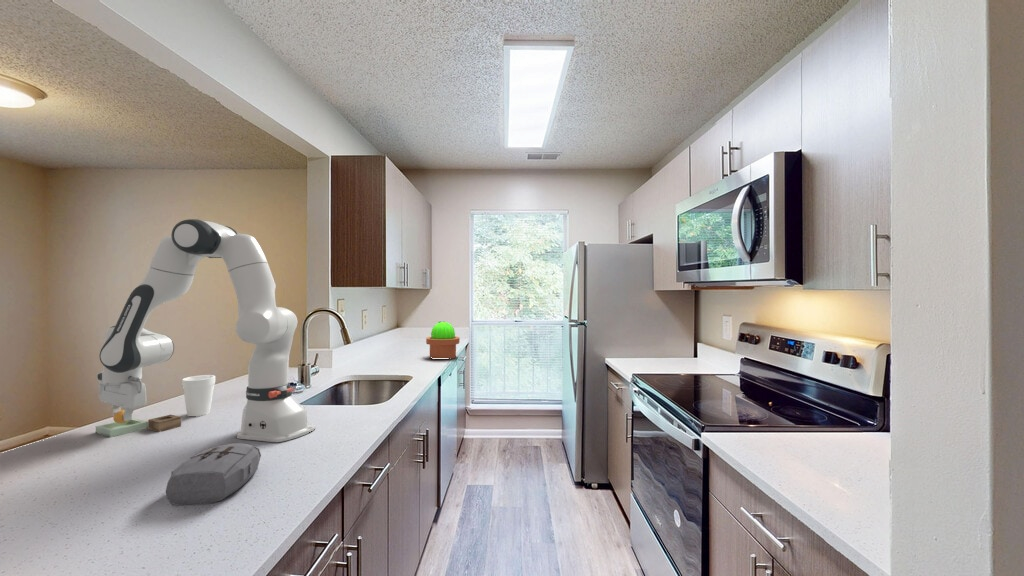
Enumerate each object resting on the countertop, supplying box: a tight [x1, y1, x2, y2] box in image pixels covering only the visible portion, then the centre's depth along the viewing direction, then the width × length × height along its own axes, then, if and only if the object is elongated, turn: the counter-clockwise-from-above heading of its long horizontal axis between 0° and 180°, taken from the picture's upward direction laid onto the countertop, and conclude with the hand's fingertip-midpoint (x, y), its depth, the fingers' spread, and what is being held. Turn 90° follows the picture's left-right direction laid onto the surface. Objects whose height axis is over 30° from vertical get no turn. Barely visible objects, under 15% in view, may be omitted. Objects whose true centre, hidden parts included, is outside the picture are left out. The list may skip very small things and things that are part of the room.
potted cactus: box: [425, 321, 460, 360], centre depth 267 cm, size 22×22×25 cm
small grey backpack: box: [165, 442, 262, 506], centre depth 92 cm, size 15×8×20 cm
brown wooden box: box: [147, 414, 182, 433], centre depth 128 cm, size 6×6×3 cm
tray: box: [95, 417, 148, 438], centre depth 126 cm, size 9×9×2 cm
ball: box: [112, 409, 128, 423], centre depth 126 cm, size 4×4×4 cm
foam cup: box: [181, 374, 216, 417], centre depth 143 cm, size 10×9×13 cm
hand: (122, 418), depth 126 cm, fingers closed on ball, 4 cm apart
